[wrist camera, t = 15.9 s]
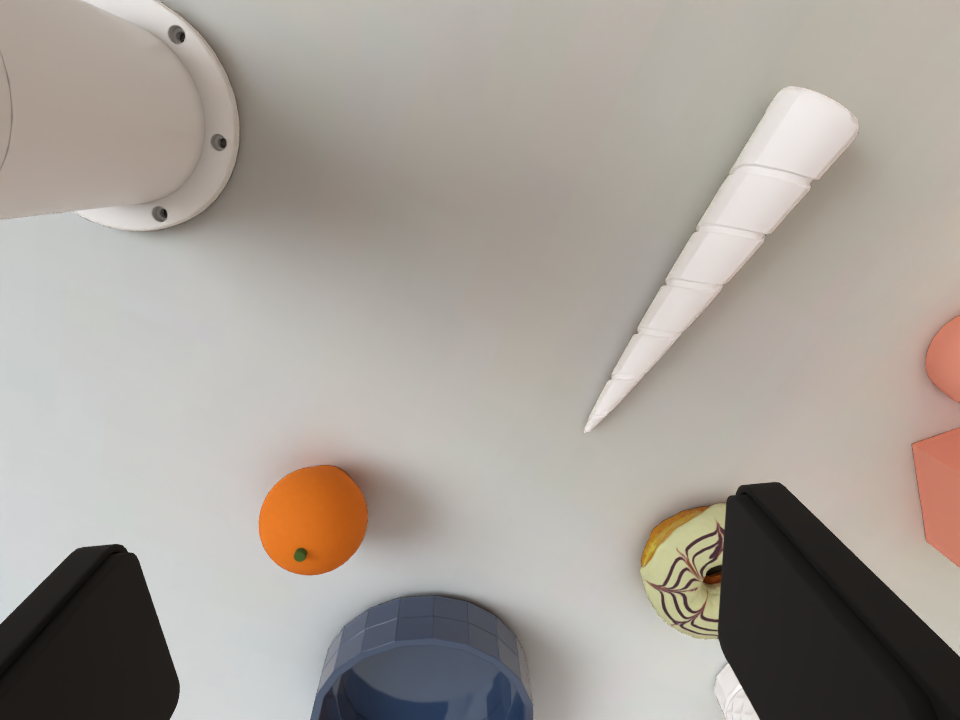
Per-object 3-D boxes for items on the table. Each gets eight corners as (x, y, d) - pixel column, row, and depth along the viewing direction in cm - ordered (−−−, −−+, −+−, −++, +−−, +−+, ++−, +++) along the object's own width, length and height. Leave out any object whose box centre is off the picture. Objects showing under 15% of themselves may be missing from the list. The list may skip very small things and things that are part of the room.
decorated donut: (707, 468, 41) (731, 497, 38) (801, 545, 44) (831, 579, 40) (607, 563, 43) (621, 598, 40) (702, 631, 46) (723, 670, 42)
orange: (271, 519, 41) (232, 592, 34) (286, 437, 39) (249, 496, 32) (364, 538, 42) (345, 613, 35) (383, 458, 40) (368, 521, 33)
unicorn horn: (538, 404, 39) (549, 435, 34) (769, 83, 33) (820, 69, 28) (593, 437, 40) (611, 471, 35) (827, 130, 34) (885, 124, 29)
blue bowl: (309, 727, 48) (294, 786, 43) (346, 572, 43) (333, 620, 38) (495, 757, 50) (499, 816, 45) (551, 611, 45) (561, 661, 40)
